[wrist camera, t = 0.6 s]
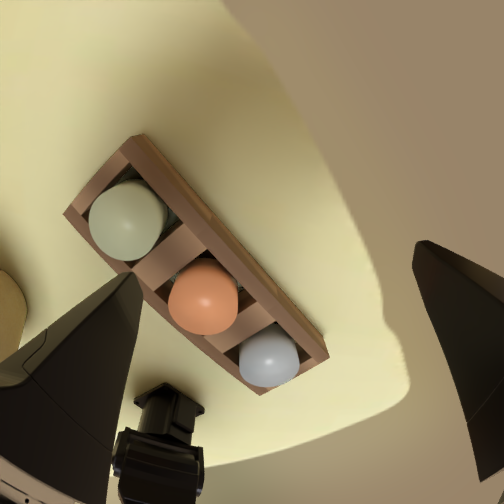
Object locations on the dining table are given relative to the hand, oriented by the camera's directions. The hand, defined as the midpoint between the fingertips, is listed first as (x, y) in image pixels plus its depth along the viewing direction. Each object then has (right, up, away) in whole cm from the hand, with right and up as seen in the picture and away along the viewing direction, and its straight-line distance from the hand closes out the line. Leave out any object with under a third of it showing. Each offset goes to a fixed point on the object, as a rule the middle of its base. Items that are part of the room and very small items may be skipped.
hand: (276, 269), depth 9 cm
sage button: (-9, +3, +12) cm, 16 cm away
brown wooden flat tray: (-4, -2, +16) cm, 17 cm away
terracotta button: (-4, -2, +15) cm, 16 cm away
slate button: (+1, -8, +18) cm, 19 cm away
